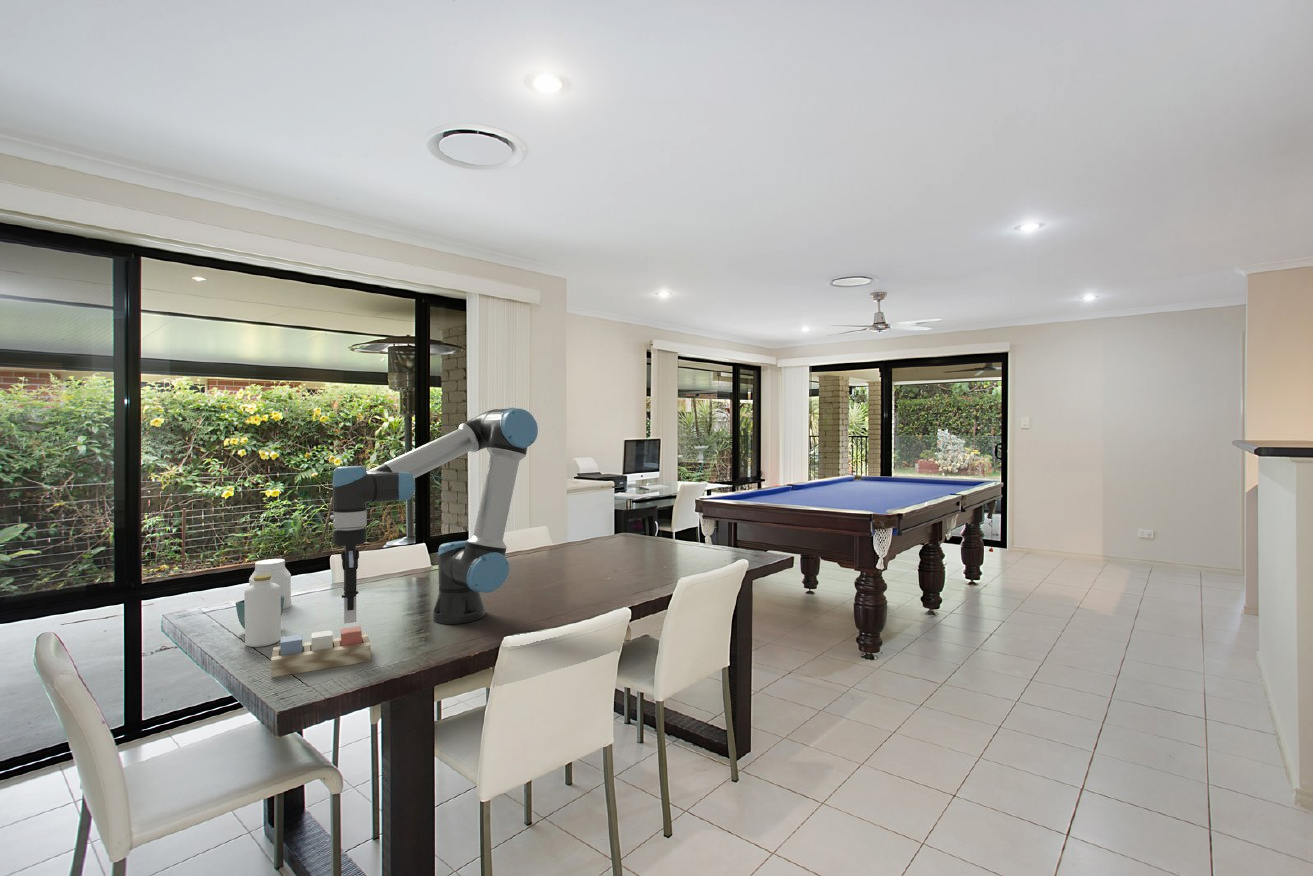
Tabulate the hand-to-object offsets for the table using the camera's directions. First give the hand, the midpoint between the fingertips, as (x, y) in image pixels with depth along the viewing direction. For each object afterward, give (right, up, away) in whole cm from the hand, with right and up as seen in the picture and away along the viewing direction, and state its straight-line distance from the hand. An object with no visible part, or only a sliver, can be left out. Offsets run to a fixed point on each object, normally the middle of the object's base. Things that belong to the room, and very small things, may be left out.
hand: (350, 622), depth 158 cm
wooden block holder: (-6, -9, -3) cm, 11 cm away
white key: (-6, -7, -3) cm, 9 cm away
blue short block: (-11, -7, -6) cm, 15 cm away
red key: (0, -7, 0) cm, 7 cm away
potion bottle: (-29, -9, +12) cm, 33 cm away
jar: (-48, -9, +46) cm, 68 cm away
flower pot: (-37, -9, +23) cm, 44 cm away
